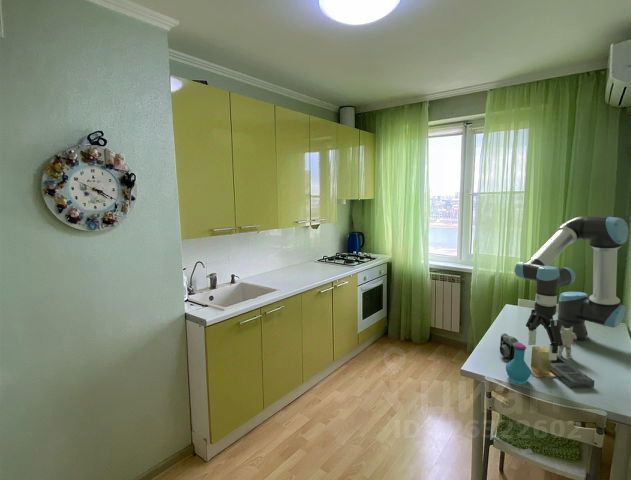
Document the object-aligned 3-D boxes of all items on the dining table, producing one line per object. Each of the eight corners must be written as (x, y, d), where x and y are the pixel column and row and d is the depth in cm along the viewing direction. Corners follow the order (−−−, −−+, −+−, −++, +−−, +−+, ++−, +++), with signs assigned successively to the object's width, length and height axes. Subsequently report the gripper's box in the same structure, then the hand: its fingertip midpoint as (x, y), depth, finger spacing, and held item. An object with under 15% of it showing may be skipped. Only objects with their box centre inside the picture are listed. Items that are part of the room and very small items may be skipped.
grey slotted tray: (555, 360, 158) (556, 354, 158) (593, 388, 136) (594, 380, 136) (535, 360, 158) (536, 354, 158) (570, 388, 136) (571, 381, 136)
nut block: (542, 368, 151) (544, 346, 149) (549, 374, 146) (551, 351, 144) (530, 368, 151) (532, 346, 149) (537, 374, 146) (539, 352, 144)
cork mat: (543, 367, 152) (543, 366, 152) (555, 377, 144) (555, 376, 144) (524, 367, 152) (525, 366, 152) (536, 377, 144) (536, 376, 144)
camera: (492, 349, 170) (493, 330, 169) (506, 349, 170) (507, 329, 169) (509, 364, 155) (511, 343, 154) (524, 364, 156) (526, 343, 154)
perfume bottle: (500, 374, 148) (502, 340, 145) (520, 373, 148) (523, 339, 146) (514, 386, 138) (516, 351, 136) (535, 385, 139) (538, 349, 137)
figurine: (578, 358, 160) (581, 327, 157) (568, 362, 156) (571, 330, 154) (560, 351, 167) (562, 321, 165) (550, 354, 163) (552, 324, 161)
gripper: (519, 294, 156) (516, 339, 159) (556, 314, 131) (552, 367, 135) (535, 294, 156) (532, 339, 159) (576, 314, 131) (571, 366, 135)
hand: (541, 351), depth 147 cm, fingers open, 13 cm apart
